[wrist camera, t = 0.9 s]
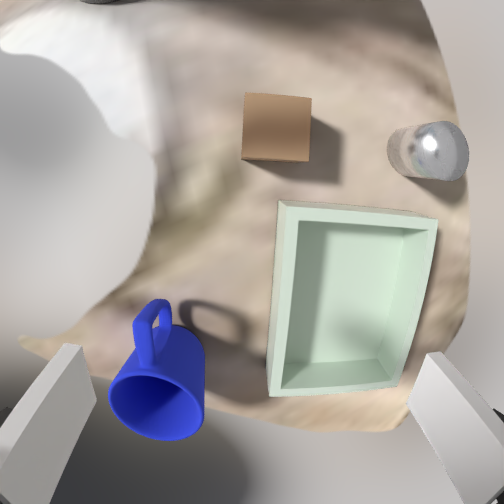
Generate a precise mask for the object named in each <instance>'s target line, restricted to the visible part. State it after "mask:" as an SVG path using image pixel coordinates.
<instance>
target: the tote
mask: <svg viewBox="0 0 504 504" xmlns="http://www.w3.org/2000/svg"><path fill="white" fill-rule="evenodd" d="M437 227H438V219H435V218H432V217H428V216H425V215H422V214H419V213H415V212H412V211H404V210H395V209H386V208H376V207H366V206H355V205H343V204H331V203H318V202H304V201H289V200H278V211H277V226H276V241H275V255H274V269H273V282H272V295H271V307H270V319H269V331H268V343H267V354H266V365H265V369H266V376H267V384H268V391H269V397H279V396H307V395H324V394H337V393H348V392H358V391H367V390H375V389H383V388H390V387H396V386H397V385H398V382H399V379H400V377H401V374H402V371H403V368H404V365H405V362H406V359H407V356H408V353H409V350H410V347H411V343H412V340H413V337H414V333H415V330H416V326H417V323H418V319H419V315H420V312H421V308H422V304H423V300H424V296H425V291H426V287H427V282H428V278H429V273H430V268H431V263H432V257H433V252H434V246H435V240H436V233H437Z"/></svg>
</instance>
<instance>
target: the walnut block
mask: <svg viewBox="0 0 504 504" xmlns="http://www.w3.org/2000/svg"><path fill="white" fill-rule="evenodd" d="M311 101H312V98H305V97H296V96H286V95H275V94H261V93H245V101H244V117H243V136H242V155H241V159H246V160H265V161H280V162H294V163H299V162H309V149H310V128H311Z"/></svg>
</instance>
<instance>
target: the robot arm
mask: <svg viewBox="0 0 504 504" xmlns="http://www.w3.org/2000/svg"><path fill="white" fill-rule="evenodd" d="M80 1H83V2H86V3H108V2H114V1H118V0H80ZM96 401H97V399H96V396H95V393H94V390H93V386H92V383H91V379H90V375H89V372H88V368H87V364H86V360H85V357H84V352H83V348H82V346H80V345H74V344H69V343H65V344H64V345H63V346H62V347H61V348H60V350H59V351H58V352H57V353H56V354H55V356H54V357H53V358H52V359H51V361H50V362H49V363H48V364H47V366H46V367H45V368H44V370H43V371H42V372H41V373H40V375H39V376H38V377H37V378H36V380H35V381H34V382H33V384H32V385H31V386H30V388H29V389H28V390H27V391H26V393H25V395H24V396H23V397H22V398H21V400H20V401H19V403H18V404H17V405H16V406H15V408H14V409H11V408H8V407H6V408H5V409H3V410H2V411H0V504H49V503H50V500H51V498H52V496H53V493H54V491H55V489H56V486H57V484H58V481H59V479H60V477H61V475H62V472H63V470H64V468H65V465H66V463H67V461H68V459H69V457H70V455H71V452H72V450H73V448H74V446H75V443H76V442H77V439H78V437H79V435H80V433H81V431H82V429H83V427H84V425H85V423H86V421H87V419H88V417H89V415H90V412H91V411H92V409H93V407H94V405H95V403H96ZM406 405H407V406H408V408H409V409H410V411H411V413H412V414H413V416H414V417H415V419H416V421H417V422H418V424H419V426H420V427H421V429H422V431H423V432H424V434H425V436H426V437H427V439H428V440H429V442H430V444H431V446H432V448H433V449H434V451H435V452H436V454H437V456H438V458H439V459H440V461H441V463H442V465H443V466H444V468H445V470H446V472H447V473H448V475H449V477H450V479H451V481H452V482H453V484H454V486H455V488H456V490H457V491H458V493H459V495H460V497H461V499H462V501H463V503H464V504H491V503H492V502H493V501H494V500H495V499H497V501H498V503H497V504H504V415H503V414H502V413H500V412H498V411H497V410H495V409H492V408H491V407H490V406H489V405H488V404H487V403H486V401H485V400H484V399H483V398H482V397H481V395H480V394H479V393H478V392H477V391H476V390H475V389H474V387H473V386H471V384H470V383H469V382H468V381H467V380H466V378H465V377H464V376H463V375H462V374H461V373H460V372H459V371H458V370H457V369H456V367H455V366H454V365H453V364H452V363H451V362H450V361H449V360H448V359H447V358H446V357H445V356H444V354H443V353H442V352H441V351H439V352H432V353H427V354H426V357H425V359H424V362H423V364H422V367H421V370H420V372H419V375H418V377H417V380H416V382H415V384H414V387H413V389H412V391H411V394H410V396H409V398H408V400H407V403H406Z"/></svg>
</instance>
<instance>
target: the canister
mask: <svg viewBox="0 0 504 504" xmlns="http://www.w3.org/2000/svg"><path fill="white" fill-rule="evenodd" d="M387 154H388V158H389V161H390V163H391V165H392V167H393V168H394V169H395V170H396V171H397V172H398V173H399V174H401V175H404V176H408V177H419V178H428V179H437V180H445V181H454V180H457V179H459V178H460V177H461V176H462V175H463V174H464V173H465V171H466V169H467V166H468V162H469V148H468V144H467V141H466V138H465V136H464V134H463V133H462V131H461V130H460V129H459V128H458V127H457V126H456V125H454V124H453V123H451V122H448V121H440V122H434V123H428V124H422V125H417V126H411V127H406V128H401V129H398V130H396V131H395V132H394V133H393V134H392V135H391V136H390V138H389V141H388V145H387Z"/></svg>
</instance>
